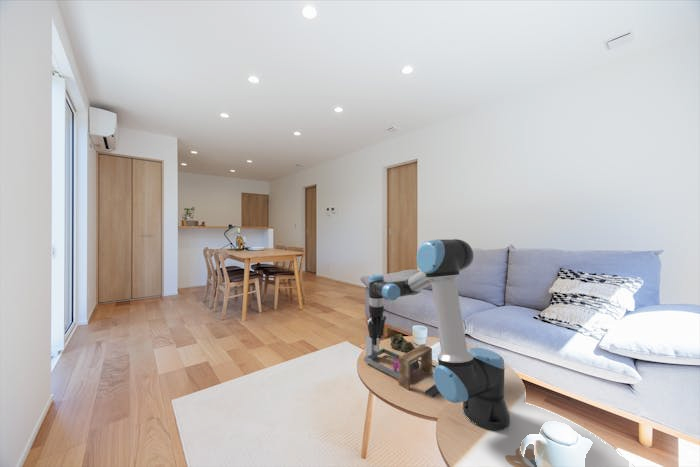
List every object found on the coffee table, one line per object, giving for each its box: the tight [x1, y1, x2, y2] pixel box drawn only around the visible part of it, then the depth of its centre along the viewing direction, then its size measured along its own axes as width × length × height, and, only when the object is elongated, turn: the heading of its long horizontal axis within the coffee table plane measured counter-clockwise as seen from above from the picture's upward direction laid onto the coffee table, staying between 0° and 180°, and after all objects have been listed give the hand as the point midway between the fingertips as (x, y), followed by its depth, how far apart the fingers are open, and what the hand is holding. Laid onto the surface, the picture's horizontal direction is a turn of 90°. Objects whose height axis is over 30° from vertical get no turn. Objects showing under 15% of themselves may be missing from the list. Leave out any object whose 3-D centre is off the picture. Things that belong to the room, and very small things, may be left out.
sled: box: [363, 335, 420, 380], centre depth 133 cm, size 26×15×11 cm, turn 42°
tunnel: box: [398, 344, 433, 391], centre depth 121 cm, size 5×18×12 cm, turn 132°
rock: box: [390, 333, 415, 353], centre depth 153 cm, size 13×10×10 cm
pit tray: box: [424, 383, 440, 398], centre depth 114 cm, size 4×12×1 cm, turn 132°
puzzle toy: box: [393, 359, 412, 376], centre depth 126 cm, size 6×6×6 cm
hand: (376, 350), depth 139 cm, fingers closed
